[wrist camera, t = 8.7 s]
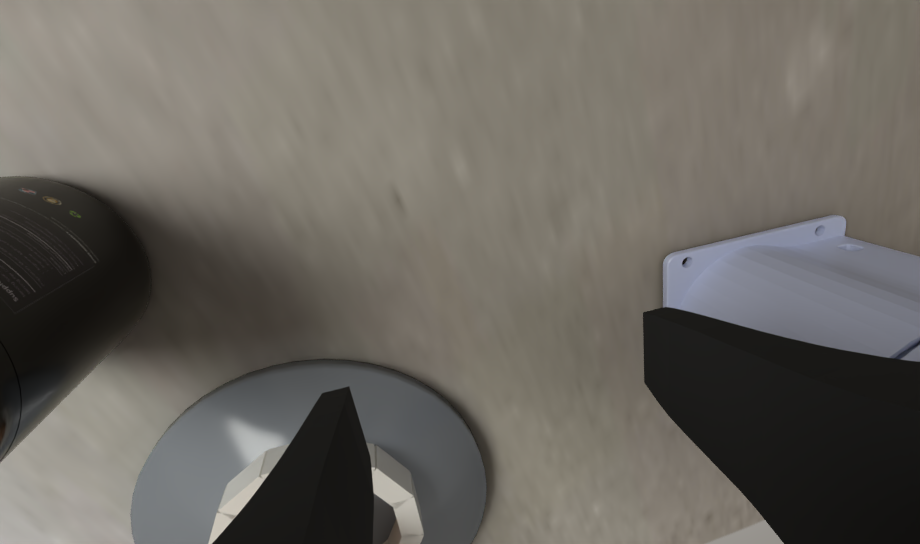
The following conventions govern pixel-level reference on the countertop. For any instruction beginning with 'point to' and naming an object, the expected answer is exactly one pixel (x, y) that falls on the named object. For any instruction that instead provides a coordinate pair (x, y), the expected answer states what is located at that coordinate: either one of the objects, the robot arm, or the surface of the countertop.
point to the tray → (273, 428)
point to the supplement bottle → (60, 296)
